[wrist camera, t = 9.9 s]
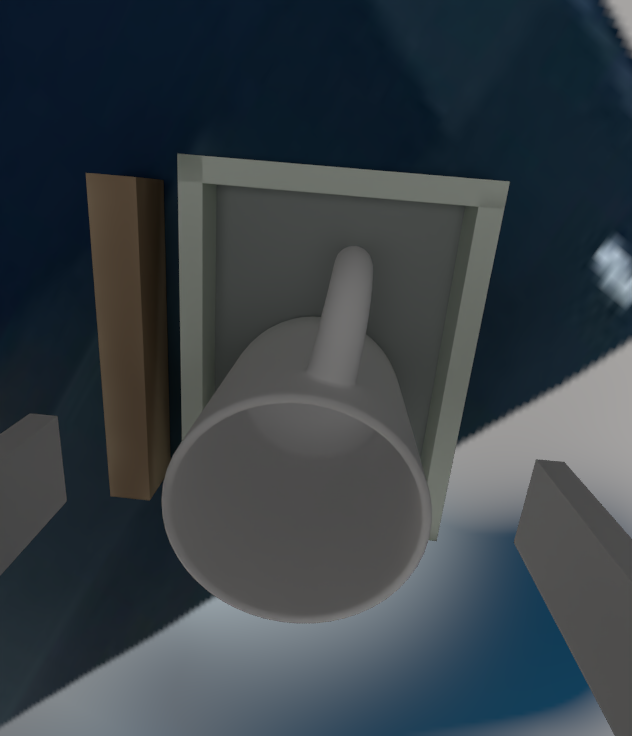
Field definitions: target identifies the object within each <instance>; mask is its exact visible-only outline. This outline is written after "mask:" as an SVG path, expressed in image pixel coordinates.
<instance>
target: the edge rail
mask: <svg viewBox="0 0 632 736" xmlns="http://www.w3.org/2000/svg"><path fill="white" fill-rule="evenodd" d="M86 183H87V196H88V209H89V222H90V235H91V248H92V261H93V275H94V288H95V301H96V314H97V327H98V340H99V353H100V366H101V379H102V392H103V406H104V419H105V432H106V445H107V458H108V471H109V484H110V496H113V497H123V498H132V499H142V500H150V499H151V498H152V496H153V495H154V493H155V492H156V490H157V489H158V487H159V486H160V484H161V483H162V481H163V479H164V478H165V474H166V470H167V468H168V466H169V463H170V461H171V458H170V418H169V379H168V339H167V300H166V261H165V221H164V182H163V180H158V179H148V178H139V177H128V176H117V175H105V174H93V173H86Z"/></svg>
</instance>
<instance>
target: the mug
mask: <svg viewBox="0 0 632 736" xmlns="http://www.w3.org/2000/svg"><path fill="white" fill-rule="evenodd" d="M372 281H373V264H372V260H371V257H370V255H369V254H368V253H367V251H366V250H365V249H363V248H361V247H358V246H349V247H346V248H344V249H342V250H341V251H340V252H339V253H338V255H337V257H336V259H335V263H334V267H333V271H332V275H331V280H330V284H329V288H328V292H327V296H326V300H325V304H324V308H323V311H322V315H321V317H316V316H312V317H300V318H295V319H290V320H287V321H284V322H281V323H279V324H277V325H275V326H273V327H271V328H269V329H268V330H266V331H265V332H263V333H261V334H260V335H259V336H258V337H257V338H256V339H254V340H253V341H252V342H251V343H250V344H249V345H248V347H247V348H246V349H245V350H244V351H243V353H242V354H241V355H240V357H239V358H238V360H237V361H236V363H235V364H234V366H233V367H232V368H231V370H230V371H229V373H228V374H227V376H226V377H225V379H224V380H223V382H222V383H221V385H220V386H219V388H218V389H217V390H216V392H215V393H214V395H213V396H212V398H211V399H210V401H209V402H208V404H207V405H206V407H205V408H204V410H203V411H202V412H201V414H200V415H199V417H198V418H197V420H196V421H195V423H194V424H193V426H192V427H191V429H190V430H189V432H188V433H187V434H186V436H185V437H184V439H183V440H182V442H181V443H180V445H179V447H178V448H177V450H176V451H175V453H174V454H173V456H172V459H171V461H170V463H169V466H168V468H167V470H166V474H165V478H164V482H163V489H162V516H163V521H164V525H165V530H166V533H167V536H168V538H169V541H170V544H171V546H172V548H173V550H174V552H175V553H176V555H177V557H178V559H179V560H180V562H181V563H182V564H183V566H184V567H185V569H186V570H187V571H188V572H189V573H190V574H191V575H192V577H193V578H194V579H195V580H196V581H197V582H198V583H199V584H201V585H202V586H203V587H204V588H205V589H206V590H207V591H209V592H210V593H211V594H213V595H214V596H216V597H217V598H219V599H220V600H222V601H224V602H225V603H227V604H229V605H231V606H233V607H235V608H237V609H239V610H242V611H244V612H246V613H249V614H252V615H255V616H258V617H261V618H265V619H269V620H275V621H280V622H289V623H320V622H329V621H334V620H338V619H343V618H346V617H349V616H353V615H356V614H359V613H361V612H363V611H365V610H367V609H369V608H372V607H374V606H375V605H377V604H379V603H380V602H382V601H384V600H385V599H387V598H388V597H389V596H390V595H392V594H393V593H394V592H395V591H397V590H398V589H399V588H400V587H401V586H402V585H403V584H404V583H405V581H406V580H407V579H408V578H409V577H410V576H411V574H412V573H413V571H414V570H415V569H416V567H417V566H418V564H419V562H420V560H421V558H422V556H423V554H424V552H425V549H426V546H427V543H428V540H429V536H430V530H431V524H432V504H431V497H430V491H429V487H428V484H427V481H426V477H425V474H424V470H423V467H422V463H421V460H420V456H419V453H418V449H417V446H416V442H415V439H414V435H413V432H412V428H411V425H410V421H409V418H408V415H407V411H406V408H405V404H404V401H403V397H402V394H401V390H400V387H399V384H398V380H397V377H396V374H395V372H394V370H393V367H392V365H391V363H390V361H389V359H388V358H387V356H386V355H385V353H384V352H383V350H382V349H381V348H380V347H379V346H378V345H377V344H376V343H375V342H374V341H373V340H372V339H371V338H370V337H369V336H368V335H366V330H367V324H368V318H369V311H370V303H371V295H372Z"/></svg>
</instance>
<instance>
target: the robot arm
mask: <svg viewBox="0 0 632 736" xmlns="http://www.w3.org/2000/svg"><path fill="white" fill-rule="evenodd" d="M66 501H67V498H66V489H65V480H64V471H63V462H62V452H61V443H60V434H59V425H58V416H52V415H41V414H28V415H27V416H26V417H24V418H23V419H21V420H20V421H18V422H17V423H15V424H14V425H13V426H11V427H10V428H8V429H7V430H5V431H4V432H3V433H1V434H0V575H1V574H2V573H3V572H4V571H5V570H6V569H7V567H8V566H9V565H10V564H11V563H12V562H13V561H14V560H15V559H16V557H17V556H18V555H19V554H20V553H21V552H22V551H23V550H24V548H25V547H26V546H27V545H28V544H29V543H30V542H31V541H32V539H33V538H34V537H35V536H36V535H37V534H38V533H39V532H40V531H41V529H42V528H43V527H44V526H45V525H46V524H47V523H48V522H49V520H50V519H51V518H52V517H53V516H54V515H55V514H56V513H57V512H58V510H59V509H60V508H61V507H62V506H63V505H64V504H65V503H66ZM514 543H515V545H516V548H517V549H518V551H519V553H520V555H521V557H522V559H523V561H524V563H525V565H526V567H527V569H528V571H529V572H530V574H531V576H532V578H533V580H534V582H535V584H536V586H537V588H538V590H539V592H540V593H541V595H542V597H543V599H544V601H545V603H546V605H547V607H548V609H549V611H550V613H551V614H552V616H553V618H554V620H555V622H556V624H557V626H558V628H559V630H560V632H561V633H562V636H563V637H564V639H565V641H566V643H567V645H568V647H569V648H570V651H571V653H572V654H573V656H574V658H575V660H576V662H577V664H578V666H579V668H580V670H581V671H582V674H583V676H584V677H585V679H586V681H587V683H588V685H589V687H590V689H591V691H592V693H593V695H594V697H595V698H596V701H597V702H598V704H599V706H600V708H601V710H602V712H603V714H604V716H605V718H606V720H607V722H608V723H609V725H610V727H611V729H612V731H613V733H614V735H615V736H632V539H631V538H630V536H629V535H628V534H627V533H626V532H625V531H624V530H623V528H622V527H621V526H620V525H619V524H618V523H617V522H616V520H615V519H614V518H613V517H612V516H611V515H610V514H609V512H608V511H607V510H606V509H605V508H604V507H603V506H602V504H601V503H600V502H599V501H598V500H597V499H596V498H595V497H594V495H593V494H592V493H591V492H590V491H589V490H588V489H587V487H586V486H585V485H584V484H583V483H582V482H581V481H580V479H579V478H578V477H577V476H576V475H575V474H574V473H573V472H572V470H571V469H570V468H569V467H568V466H567V465H566V463H565V462H558V461H547V460H536V462H535V465H534V469H533V473H532V477H531V480H530V484H529V488H528V491H527V495H526V499H525V503H524V506H523V510H522V514H521V517H520V521H519V525H518V529H517V533H516V536H515V540H514Z"/></svg>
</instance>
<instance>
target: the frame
mask: <svg viewBox="0 0 632 736" xmlns="http://www.w3.org/2000/svg"><path fill="white" fill-rule="evenodd" d="M177 162H178V225H179V288H180V351H181V414H182V440H183V439H184V437H185V436H186V434H187V433H188V432H189V430H190V429H191V427H192V426H193V424H194V423H195V421H196V420H197V418H198V417H199V415H200V414H201V412H202V411H203V410H204V408H205V407H206V405H207V404H208V402H209V401H210V399H211V398H212V396H213V395H214V393H215V392H216V390H217V389H218V388H219V386H220V385H221V383H222V382H223V380H224V379H225V377H226V376H227V374H228V373H229V371H230V370H231V368H232V367H233V366H234V364H235V363H236V361H237V360H238V358H239V357H240V355H241V354H242V353H243V351H244V350H245V349H246V348H247V347H248V345H249V344H250V343H251V342H252V341H253V340H254V339H256V338H257V337H258V336H259V335H260V334H261V333H263V332H265V331H266V330H268V329H269V328H271V327H273V326H275V325H277V324H279V323H281V322H284V321H287V320H290V319H295V318H300V317H312V316H316V317H321V315H322V311H323V308H324V304H325V300H326V296H327V292H328V288H329V284H330V280H331V275H332V271H333V267H334V263H335V259H336V257H337V255H338V253H339V252H340V251H341V250H342V249H344V248H346V247H349V246H358V247H361V248H363V249H365V250H366V251H367V253H368V254H369V255H370V257H371V260H372V264H373V281H372V295H371V303H370V311H369V318H368V324H367V330H366V335H368V336H369V337H370V338H371V339H372V340H373V341H374V342H375V343H376V344H377V345H378V346H379V347H380V348H381V349H382V350H383V352H384V353H385V355H386V356H387V358H388V359H389V361H390V363H391V365H392V367H393V370H394V372H395V374H396V377H397V380H398V384H399V387H400V390H401V394H402V397H403V401H404V404H405V408H406V411H407V415H408V418H409V421H410V425H411V428H412V432H413V435H414V439H415V442H416V446H417V449H418V453H419V456H420V460H421V463H422V467H423V470H424V474H425V477H426V481H427V484H428V487H429V491H430V497H431V504H432V524H431V530H430V536H429V540H432V541H437V536H438V532H439V526H440V522H441V516H442V511H443V507H444V502H445V497H446V492H447V487H448V482H449V478H450V473H451V468H452V463H453V458H454V453H455V448H456V443H457V438H458V433H459V428H460V424H461V419H462V414H463V409H464V404H465V399H466V394H467V389H468V384H469V379H470V374H471V370H472V365H473V360H474V355H475V350H476V345H477V340H478V335H479V330H480V325H481V320H482V316H483V311H484V306H485V301H486V296H487V291H488V286H489V281H490V276H491V271H492V266H493V262H494V257H495V252H496V247H497V242H498V237H499V232H500V227H501V222H502V217H503V212H504V208H505V203H506V198H507V193H508V188H509V183H510V182H508V181H496V180H484V179H472V178H460V177H449V176H437V175H425V174H413V173H401V172H389V171H377V170H365V169H354V168H342V167H330V166H318V165H306V164H294V163H282V162H270V161H258V160H247V159H235V158H223V157H211V156H199V155H187V154H177Z"/></svg>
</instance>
